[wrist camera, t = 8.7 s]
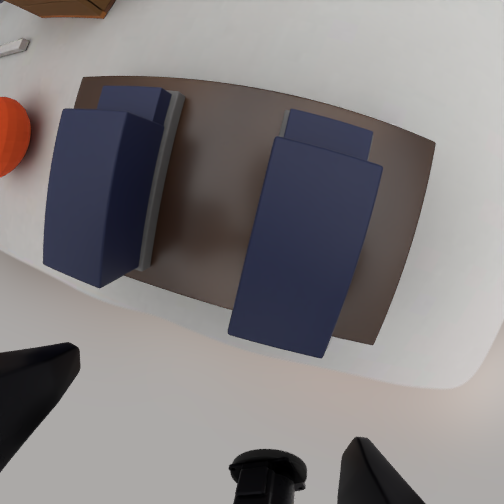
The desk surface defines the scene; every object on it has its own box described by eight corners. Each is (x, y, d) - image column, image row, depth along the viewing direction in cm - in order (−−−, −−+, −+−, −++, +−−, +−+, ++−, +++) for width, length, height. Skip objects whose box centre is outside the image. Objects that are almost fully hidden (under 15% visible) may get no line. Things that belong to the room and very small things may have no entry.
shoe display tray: (408, 150, 16) (436, 142, 12) (360, 316, 18) (373, 346, 15) (115, 91, 17) (82, 76, 14) (87, 238, 20) (52, 249, 16)
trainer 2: (318, 315, 15) (325, 365, 10) (241, 295, 15) (220, 338, 11) (368, 137, 12) (400, 117, 8) (285, 114, 13) (281, 82, 8)
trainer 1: (150, 267, 15) (103, 295, 11) (92, 248, 16) (39, 267, 11) (186, 96, 13) (145, 66, 9) (121, 91, 14) (70, 69, 9)
